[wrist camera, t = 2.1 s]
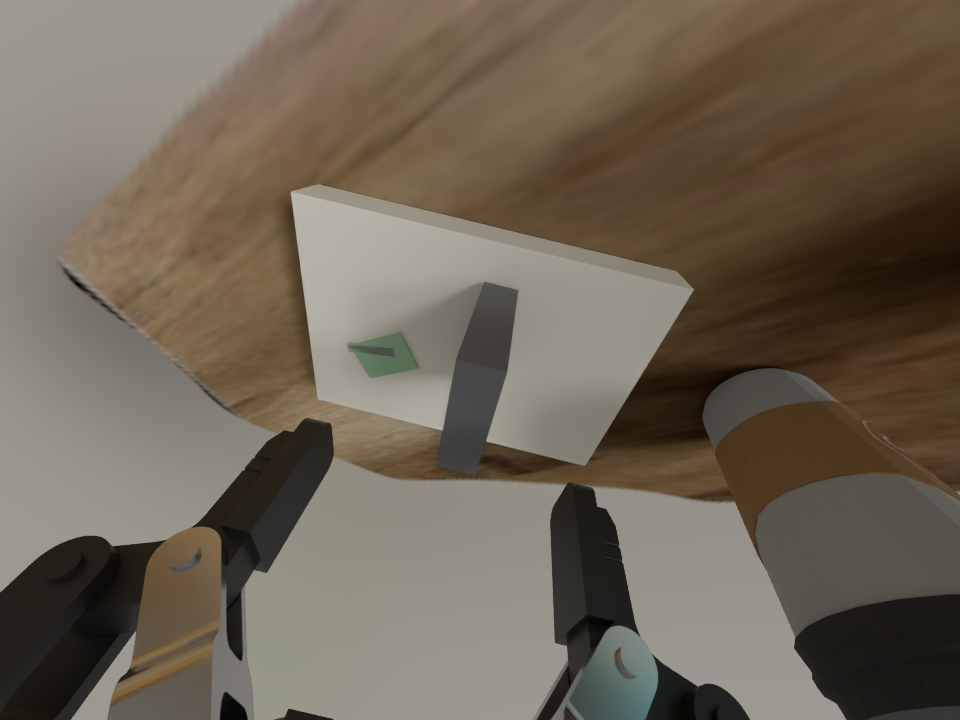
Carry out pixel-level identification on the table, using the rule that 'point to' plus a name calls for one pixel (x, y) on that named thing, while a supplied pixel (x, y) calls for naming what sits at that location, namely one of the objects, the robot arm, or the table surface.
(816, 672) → the coffee cup
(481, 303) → the dark gray beam
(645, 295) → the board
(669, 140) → the table surface
